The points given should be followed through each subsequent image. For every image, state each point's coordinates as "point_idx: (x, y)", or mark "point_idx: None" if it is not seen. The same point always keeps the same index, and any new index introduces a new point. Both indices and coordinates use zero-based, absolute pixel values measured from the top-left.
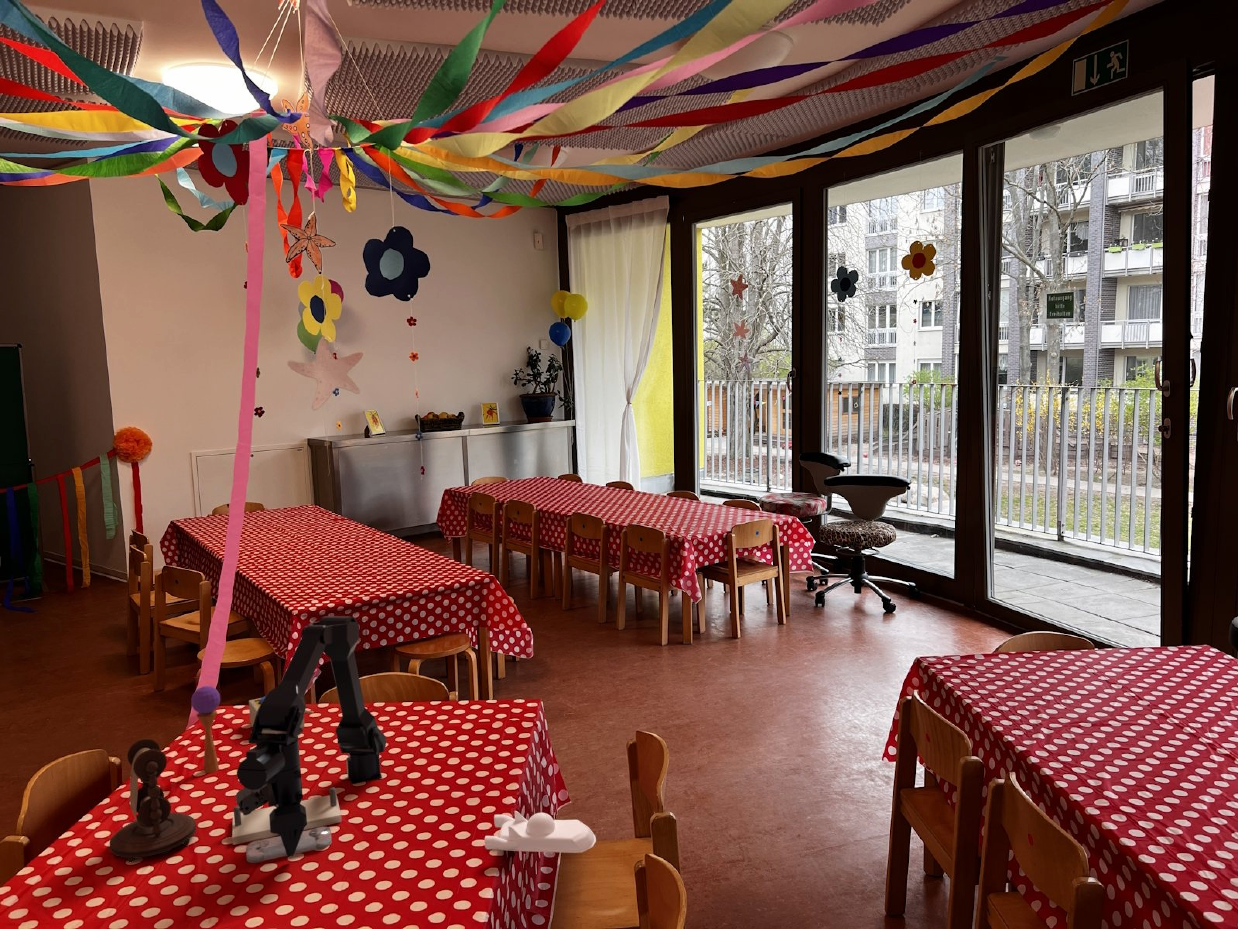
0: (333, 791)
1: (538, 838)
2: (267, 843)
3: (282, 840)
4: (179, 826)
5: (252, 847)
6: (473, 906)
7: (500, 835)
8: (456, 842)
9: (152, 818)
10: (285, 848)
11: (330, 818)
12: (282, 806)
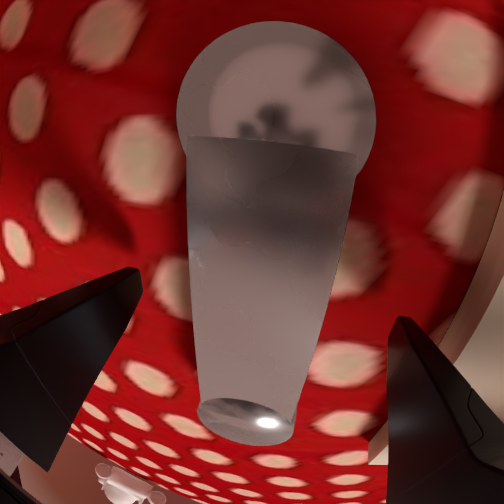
0: None
1: (101, 479)
2: (260, 198)
3: (23, 309)
4: None
5: (251, 70)
6: None
7: (111, 480)
8: (146, 468)
9: None
10: (81, 288)
11: (382, 446)
12: (452, 488)
